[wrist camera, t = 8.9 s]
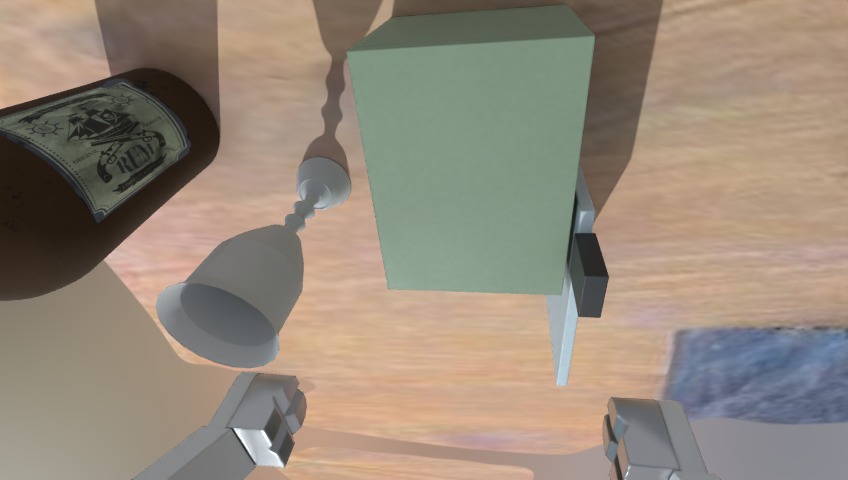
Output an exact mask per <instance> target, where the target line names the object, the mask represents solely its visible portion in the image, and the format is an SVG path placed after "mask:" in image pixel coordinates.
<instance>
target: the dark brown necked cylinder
mask: <svg viewBox="0 0 848 480" xmlns="http://www.w3.org/2000/svg"><path fill="white" fill-rule="evenodd" d="M218 146H219V135H218V130H217V126H216V123H215V120H214V118H213V116H212V114H211V112H210V110H209V108H208V107H207V105H206V104H205V102H204V101H203V100H202V99H201V97H200V96H199V95H198V94H197V93H196V92H195V91H194V90H193V89H192V88H191V87H190V86H188V85H187V84H186V83H185V82H183V81H182V80H180V79H179V78H177V77H175V76H173V75H171V74H169V73H167V72H164V71H161V70H157V69H151V68H141V69H135V70H131V71H128V72H125V73H122V74H118V75H115V76H112V77H109V78H106V79H103V80H100V81H96V82H93V83H90V84H87V85H84V86H80V87H77V88H73V89H70V90H66V91H63V92H60V93H56V94H53V95H49V96H46V97H42V98H39V99H35V100H32V101H28V102H25V103H21V104H18V105H14V106H11V107H7V108H3V109H0V301H9V300H21V299H28V298H34V297H38V296H41V295H44V294H47V293H50V292H52V291H55V290H57V289H60V288H62V287H64V286H66V285H69V284H71V283H73V282H75V281H77V280H78V279H80V278H82V277H83V276H84V275H86V274H87V273H89V272H90V271H91V270H92V269H93V268H95V267H96V266H97V265H98V264H99V263H100V262H101V261H102V260H103V259H104V258H105V257H107V256H108V255H109V254H110V253H111V252H112V251H113V250H114V249H115V248H116V247H117V246H118V245H120V244H121V243H122V242H123V241H124V240H125V239H126V238H127V237H128V236H129V235H130V234H132V233H133V232H134V231H135V230H136V229H137V228H138V227H139V226H140V225H141V224H142V223H144V222H145V221H146V220H147V219H148V218H149V217H150V216H151V215H152V214H154V213H155V212H156V211H157V210H158V209H159V208H160V207H161V206H162V205H164V204H165V203H166V202H167V201H168V200H169V199H170V198H171V197H172V196H174V195H175V194H176V193H177V192H178V191H179V190H180V189H182V188H183V187H184V186H185V185H186V184H187V183H189V182H190V181H191V180H192V179H193V178H195V177H196V176H197V175H198V174H199V173H200V172H202V171H203V170H204V169H205V168H206V167H207V166H208V165H209V164H210V163H211V162H212V161H213V160H214V158H215V156H216V154H217V151H218Z"/></svg>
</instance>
